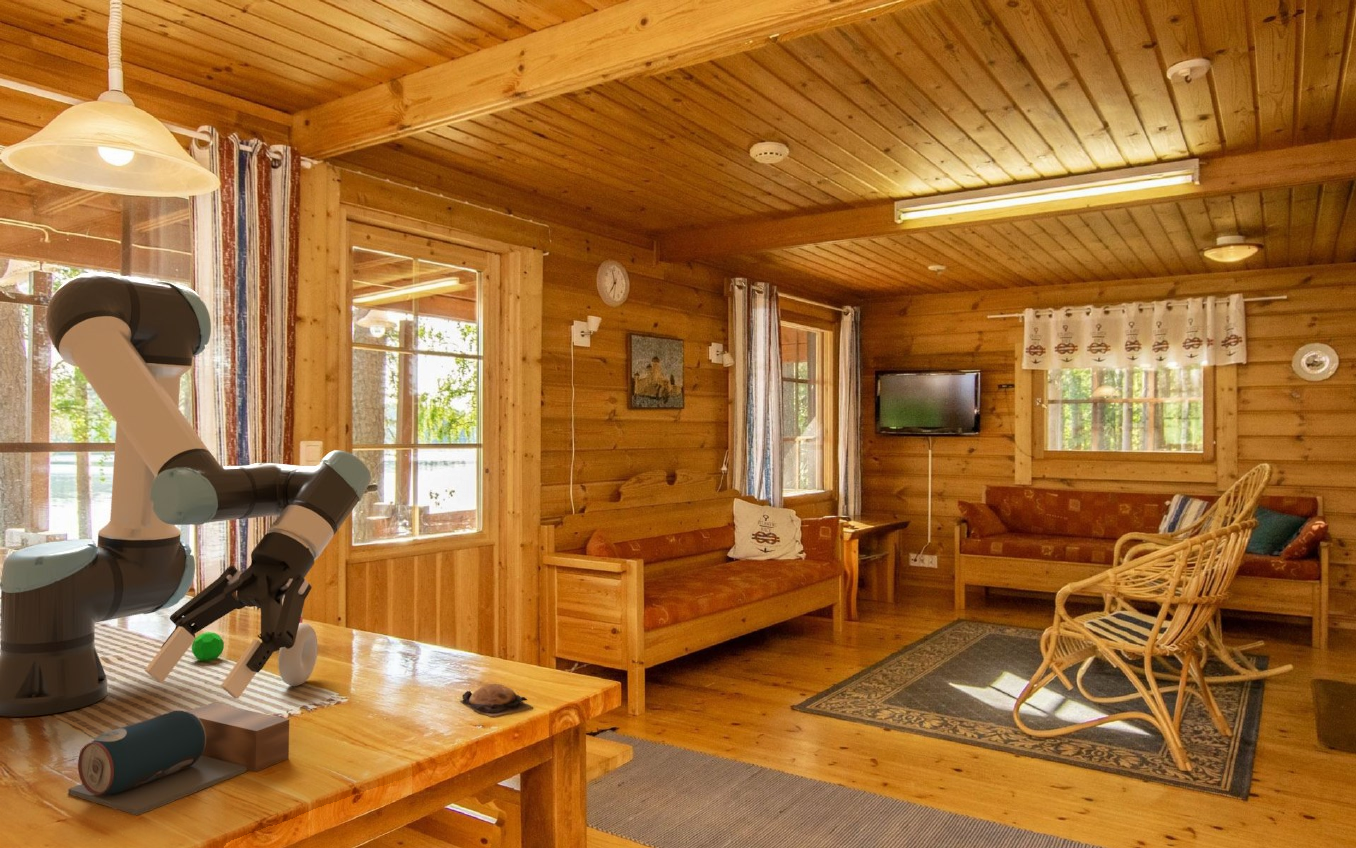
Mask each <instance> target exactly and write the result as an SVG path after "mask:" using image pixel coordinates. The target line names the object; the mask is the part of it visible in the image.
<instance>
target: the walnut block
mask: <svg viewBox="0 0 1356 848" xmlns="http://www.w3.org/2000/svg"><path fill="white" fill-rule="evenodd" d="M184 711H185V712H188V713H192V714H194V715H196V716H197V717H198V718H199V719H200V720H201V722H202V723H203V725H204V728H205V732H206V746H205V749H204V751H203V753H202V754H201V755H202V756H206V757H210V758H214V759H218V760H222V761H226V762H230V763H234V764H237V765H241V766H245V767H247V770H248V771H251V772H255V773H256V772H259V771H261V770H264V769H266V768H268V767H271V766H274V765H276V764H278V763H281V762H284V761H286V760H288V759H289V753H290V749H289V747H290V719H289V718H285V717H280V716H277V715H271V714H266V713H262V712H257V711H254V710H253V711H252V710H249V709H243V708H240V707H239V708H238V707H235V706H231V705H230V706H229V705H225V704H220V703H218V702H217V703H216V702H211V703H208V704H205V705H202V706H198V707H195V708H192V709H188V710H184ZM247 770H246V771H247Z"/></svg>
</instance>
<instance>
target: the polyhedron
mask: <svg viewBox="0 0 1356 848" xmlns="http://www.w3.org/2000/svg"><path fill="white" fill-rule="evenodd" d="M195 638H196V639H195V640H194V642H193V643H192V644H191V652H192V655H193V656H194V658H196V660H198V661H200V662H212V661H214V660H216V659H218V658H219V657H220V656H221V654H222V653H223V650H224V648H225V645H224V644H225V642H224V641H223V638H222V637H221V635H219V634H218V633H216V632H210V631H207V632H203V633H201V634H199V635H198V636H197V637H195Z"/></svg>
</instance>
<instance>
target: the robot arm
mask: <svg viewBox="0 0 1356 848" xmlns="http://www.w3.org/2000/svg"><path fill="white" fill-rule="evenodd" d="M45 321H46V328H47V333H48V335H49V339H50V341H51V343H52V345H53V347H54V349H56V351H57V353H58V354H59V355H60V356H61V358H62V359H63V360H64V362H65V363H67V364H69V365H71V366H73V367H77V368H79V370H80V372H81V373H82V374H83V376H84V378H85V379H86V380H87V382H88V383H89V385H90V386H91V387H92V389H93V391H95V394H96V395H97V396H98V398H99V399H100V400H101V403H103V405H104V406H105V407H106V409H107V411H108V412H109V413H110V414H111V416H112V418H113V419H114V420H115V422H116V423H115V424H116V425H115V439H114V441H115V444H114V454H113V455H114V457H113V471H112V473H113V475H112V484H111V485H112V488H111V503H110V505H111V506H110V515H109V516H110V518H109V522H108V523H106V525H105V526H103V527H102V528H101V529H100V530H98V533H97V535H98V536H97V545H96V542H94V541H92V540H90V539H66V540H61V541H50V542H44V543H38V544H35V545H29V546H27V547H23V548H20V549H18V550H16V551H13V552H12V553H11V554H10V555H8V556H7V557H6V558H5V559H4V562H3V563H2V569H1V570H2V572H1V578H0V591H1V593H0V717H13V718H14V717H15V718H18V717H35V716H46V715H52V714H57V713H64V712H69V711H73V710H77V709H81V708H84V707H88V706H90V705H93V704H95V703H97V702H99V701H102V700H103V699H104V698H105V697H106V696H107V695H108V678H107V675H106V673H105V670H104V668H103V667H104V666H103V664H102V662H101V660H100V656H99V654H98V651H97V649H96V644H95V642H96V641H95V637H96V636H95V633H96V623H100V622H106V621H111V620H117V619H122V618H127V617H132V616H137V615H149V614H153V613H156V612H158V611H160V610H165V609H169V608H171V607H174V606H175V605H177V604H178V603H180V601H181V600H182V599H184V598H185V596H186V595H187V593H188V592H189V590H190V589H191V587H192V584H193V582H194V578H195V573H196V572H195V571H196V561H195V556H194V555H193V554H191V553H192V548H191V546H190V545H189V544H188V543H187V542H186V541H185V540H184V539H181V530H180V529H179V528H178V527H177V526H187V525H189V526H191V525H192V526H199V525H204V524H207V523H216V522H224V521H233V520H234V521H235V520H245V519H256V518H264V517H274V516H276V517H277V518H276V519H275V520H274V522H273V523H272V525H270V527H269V530H268V533H265V534H264V536H263V537H262V538H261V539H260V540H259V542H258V543H257V545H256V546H255V547H254V549H253V550H252V551H251V554H250V558H251V562H250V565H249V566H248V567H247V568H246V569H245V570H243V571H240V570H238V569H237V568H236V567H235V566H234V565H229V566H228V567H227V568H226V569H225V570H224V571H223V572H222V574H220V576H219V577H218V578H217V579H215V580H214V581H213V582H211V583H210V584H209V585H208V586H206V587H205V588H204V589H203V590H201V591H200V592H199V593H197V594H196V595H195V596H194V597H192V598H190V600H189V601H187V602H186V603H185V604H184V605H182V606H181V607H179V608H178V609H177V610H176V611H174V612H173V613H172V614H171V615H170V616H169V620H170V621H171V622H172V623H173V624H174V625H175V628H174V630H172V632H171V633H170V635H169V636H168V637H167V639H166V640H165V641H164V642H163V644H162V645H161V648H160V649H159V651H158V652H157V654H155V656H154V657H153V659H151V661H150V663H149V664H148V665H147V666H146V668H145V669H144V672H145V673H147V674H148V675H150V677H152V678H153V679H154V680H156V681H157V682H158V683H161V684H162V683H164V682H165V680H166V679H167V678H168V677H169V674H170V673H171V672H172V670H173V669H174V668H175V667H176V665H177V664H178V663H179V661H180V660H181V659H182V658H183V656H184V655H185V653H186V652H187V651H188V650H189V648H190V647H192V644H193V642H194V640H195V639H196V638H197V637H196V633H198V632H200V631H202V630H203V629H205V628H206V627H208V626H210V625H212V624H213V623H214V622H216V621H218V620H220V619H221V618H223V617H224V616H227V614H230V613H231V612H233V611H235V610H242V609H244V608H246V607H247V608H248V607H249V608H252V607H256V608H258V609H260V633H259V634H257V638H259V639H253V640H252V641H251V642H250V644H249V645H248V647H246V650H245V651H244V652H243V653H242V655H241V656H240V658H239V659H238V661H237V662H236V663H235V665H234V666H233V667H232V669H231V670H230V672H229V673H228V674H227V676H226V678H225V679H224V680H223V682H221V685H220V687H221V688H222V689H223V690H224V691H225V692H226V693H227V694H229V695H230V696H231V697H232V698H233V699H237V700H238V699H240V697H241V696H242V694H243V693H244V692H245V690H246V689H247V687H248V686H249V684H250V683H251V681H252V680H253V679H254V677H255V675H256V674H257V673H259V672H260V671H261V670H263V668H264V667H265V665H266V664H267V663H268V661H269V659H270V658H271V656H272V654H274V653H275V652H276V651H279V650H280V648H282V647H285V648H287V649H290V648H291V647H293V645H294V643H295V639H296V635H297V631H298V627H299V622H300V618H301V614H302V610H303V609H304V605H305V600H306V598H307V597H308V596H309V593H310V592H311V590H312V588H313V587H312V584H310V583H309V582H308V581H307V579H305V577H306V576H307V575H308V574H309V572H310V570H311V569H312V567H313V566H314V565H315V560H317V559H318V558H319V557H320V556H321V554H322V553H323V551H324V550H325V548H326V547H327V546H328V545H329V543H330V541H331V540H332V538H333V537H334V536H335V535H336V533H337V532H338V531H339V529H340V528H341V526H342V525H343V524H344V522H345V521H346V519H347V518H348V517H349V515H350V514H351V513H352V511H353V510H354V508H355V507H356V506H357V505H358V503H359V502H360V501H361V500H362V497H363V496H364V494H365V492H366V490H367V488H368V487H369V485H370V484H371V482H372V474H371V472H370V469H369V468H368V467H367V465H366V464H365V463H364V461H362V460H361V458H359V457H357V456H356V455H354V454H352V453H350V452H347V451H345V450H339V449H338V450H335V449H334V450H333V451H330V452H328V453H327V454H326V455H325V456H324V457H323V458H321V459H320V462H319V463H318V464H317V465H295V464H284V463H278V462H257V463H252V464H249V465H229V466H228V465H223V466H222V465H221V464H219V462H218V461H217V458H215V457H214V455H213V454H212V453H211V452H210V450H209V448H208V447H207V445H205V443H204V442H203V441H202V439H201V438H200V436H199V434H198V433H197V432H196V431H195V429H194V428H193V427H192V425H191V424H190V423H189V421H188V419H187V418H186V417H185V416H184V414H183V413H182V411H181V410H180V407H179V406H180V391H181V390H180V389H181V378H182V377H183V375H184V374H186V373H188V372H189V370H191V369H192V368H193V357H195V356H197V355H200V354H201V353H203V352H204V350H205V349H206V345H208V344H209V342H210V338H211V335H212V334H211V332H212V322H211V317H210V312H209V310H208V308H207V305H206V303H205V302H204V300H202V298H201V297H200V295H199V294H198V293H197V292H195V291H194V290H193V289H191V288H189V287H187V286H184V285H180V284H175V283H172V282H168V281H164V280H162V281H159V280H154V279H153V280H152V279H146V278H145V279H144V278H139V277H133V276H132V277H131V276H124V275H116V274H113V273H108V272H89V273H84V274H80V275H77V276H74V277H73V278H70V279H69V280H67V281H65V282H64V283H63V284H61V286H60V287H59V288H58V289H57V290H56V291H55V292H54V293H53V295H52V296H51V299H50V301H49V302H48V305H47V309H46V318H45ZM235 592H236V594H235ZM284 595H285V597H284V601H283V605H282V598H283V596H284ZM280 611H281V613H280ZM303 611H304V610H303ZM260 640H261V641H260Z"/></svg>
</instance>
